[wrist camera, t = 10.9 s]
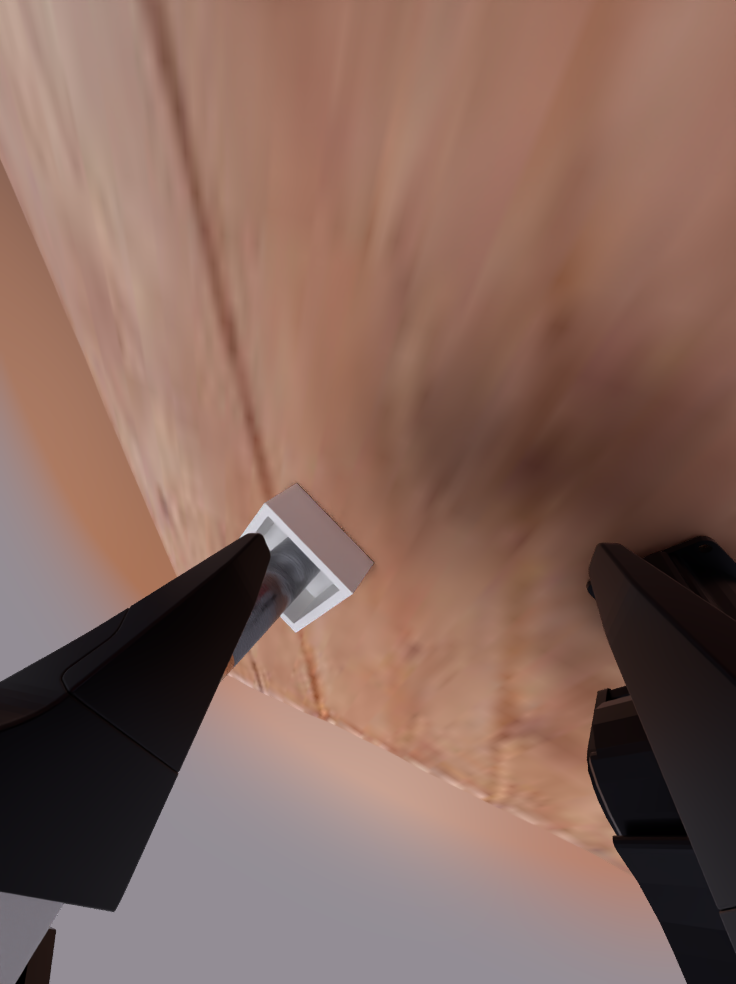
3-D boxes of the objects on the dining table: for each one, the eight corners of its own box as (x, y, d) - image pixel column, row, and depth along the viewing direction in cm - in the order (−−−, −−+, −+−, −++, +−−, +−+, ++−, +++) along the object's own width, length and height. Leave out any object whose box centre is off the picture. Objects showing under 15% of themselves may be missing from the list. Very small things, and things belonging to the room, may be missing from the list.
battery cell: (329, 543, 28) (200, 675, 17) (323, 578, 30) (205, 714, 19) (288, 524, 29) (143, 634, 18) (285, 559, 31) (155, 676, 20)
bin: (374, 562, 27) (352, 593, 24) (319, 603, 33) (295, 632, 29) (296, 482, 27) (264, 502, 24) (255, 536, 33) (224, 558, 29)
